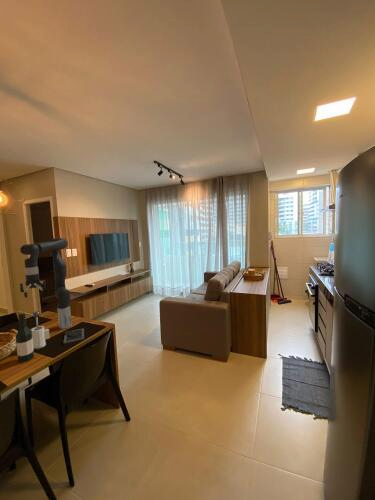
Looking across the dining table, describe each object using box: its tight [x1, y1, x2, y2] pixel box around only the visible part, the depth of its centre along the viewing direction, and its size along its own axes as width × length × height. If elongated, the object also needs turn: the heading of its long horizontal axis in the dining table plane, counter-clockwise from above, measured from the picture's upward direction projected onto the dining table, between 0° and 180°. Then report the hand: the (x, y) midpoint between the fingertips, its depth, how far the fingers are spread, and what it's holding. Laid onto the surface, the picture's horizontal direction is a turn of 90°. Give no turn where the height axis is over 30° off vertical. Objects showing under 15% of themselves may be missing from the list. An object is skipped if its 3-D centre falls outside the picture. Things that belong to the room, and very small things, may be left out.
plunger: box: [32, 311, 42, 330], centre depth 149 cm, size 5×5×13 cm
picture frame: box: [63, 327, 85, 345], centre depth 163 cm, size 13×2×18 cm
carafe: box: [30, 325, 50, 350], centre depth 150 cm, size 10×8×13 cm
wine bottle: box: [15, 312, 35, 363], centre depth 134 cm, size 8×8×30 cm
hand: (34, 296), depth 147 cm, fingers open, 8 cm apart
